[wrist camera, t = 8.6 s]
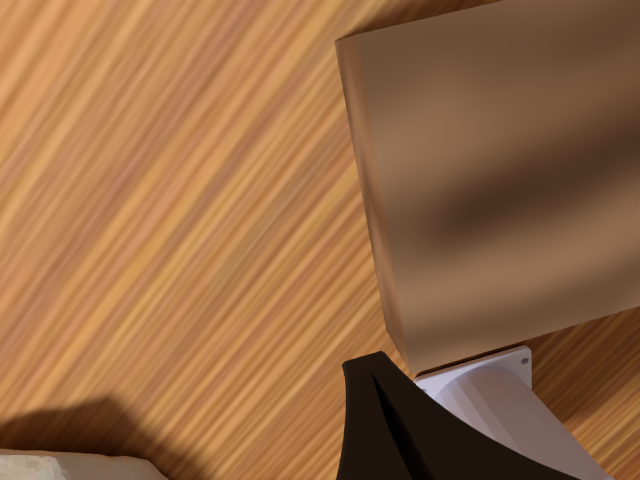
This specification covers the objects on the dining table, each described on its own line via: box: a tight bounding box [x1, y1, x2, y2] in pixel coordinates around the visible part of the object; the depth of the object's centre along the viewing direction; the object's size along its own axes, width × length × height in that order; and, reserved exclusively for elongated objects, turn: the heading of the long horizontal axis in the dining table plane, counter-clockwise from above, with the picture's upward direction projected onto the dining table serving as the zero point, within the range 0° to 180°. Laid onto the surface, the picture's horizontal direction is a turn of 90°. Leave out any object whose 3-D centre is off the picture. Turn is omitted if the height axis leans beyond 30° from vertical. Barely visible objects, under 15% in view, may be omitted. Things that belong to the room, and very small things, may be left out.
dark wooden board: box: [335, 0, 640, 374], centre depth 21 cm, size 16×14×4 cm
